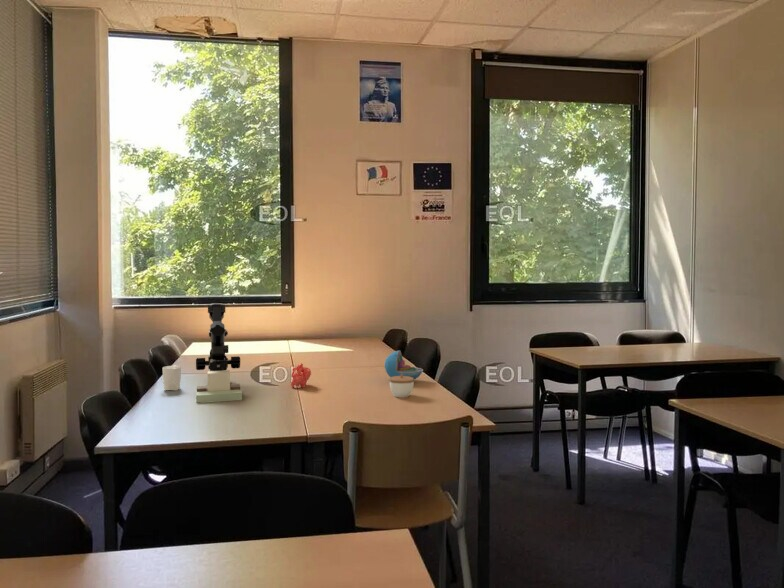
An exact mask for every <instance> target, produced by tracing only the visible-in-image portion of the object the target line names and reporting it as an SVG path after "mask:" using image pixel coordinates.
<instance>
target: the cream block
mask: <svg viewBox="0 0 784 588" xmlns="http://www.w3.org/2000/svg"><path fill="white" fill-rule="evenodd" d="M230 384H231V372H230V370H229V369H227V370H224V371H210V370H208V371H207V385H208V391H222V390H230Z"/></svg>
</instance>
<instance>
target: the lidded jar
mask: <svg viewBox="0 0 784 588" xmlns="http://www.w3.org/2000/svg"><path fill="white" fill-rule="evenodd" d="M388 381H389V389H390V392H391V394H393V396H394V397H395V398H402V399H403V398H404V399H405V398H408V397H409V395H411V394H412V392H413V389H414V386H415V384H414V381H415V380H414V378H412V377H409V376H403V374H401V375H400V376H394V377H390V376H389V379H388Z"/></svg>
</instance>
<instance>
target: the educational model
mask: <svg viewBox="0 0 784 588" xmlns="http://www.w3.org/2000/svg"><path fill="white" fill-rule="evenodd" d="M401 351H402V350H395V351H393V352H392V353H390V354H389V355H388V356H387V357H386V358H385V361H384V369H385V372H386V374H387V375H388V377H389V378H390V377H394V376H400V375H401V374H403V376H409V377H412V378H414V381H415V380H416V379H417V378H419V377H420V376H421V375H422V374H423V371H424V369H423V368H421V367H415V366H411V365H409V364H406V363H405V360H404V359H403V354H402V352H401Z"/></svg>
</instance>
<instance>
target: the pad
mask: <svg viewBox="0 0 784 588" xmlns="http://www.w3.org/2000/svg"><path fill="white" fill-rule="evenodd" d="M195 396H196V398H195V399H196V400H195V401H196V403H197V402H200V403H212V402H215V403H216V402H230V401H242V400H243V392H242V389H240V390H225V391H206V392H197V391H196V395H195Z"/></svg>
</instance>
